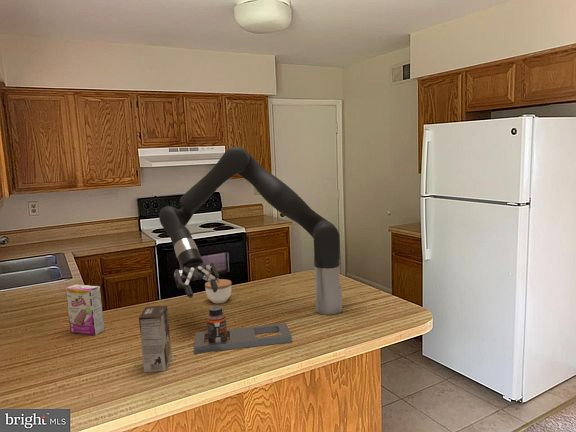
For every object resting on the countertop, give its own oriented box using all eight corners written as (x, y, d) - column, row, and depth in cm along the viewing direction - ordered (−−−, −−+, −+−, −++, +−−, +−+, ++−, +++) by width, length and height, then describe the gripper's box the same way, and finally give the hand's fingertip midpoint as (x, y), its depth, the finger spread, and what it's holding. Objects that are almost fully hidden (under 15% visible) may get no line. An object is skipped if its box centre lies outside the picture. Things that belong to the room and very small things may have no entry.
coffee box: (150, 358, 130) (145, 306, 128) (172, 356, 131) (167, 304, 129) (143, 372, 121) (137, 317, 119) (166, 370, 122) (161, 315, 120)
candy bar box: (69, 333, 152) (64, 288, 150) (80, 327, 157) (75, 283, 155) (95, 336, 149) (89, 289, 147) (105, 330, 153) (100, 285, 151)
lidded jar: (221, 306, 172) (219, 283, 171) (200, 303, 178) (199, 280, 177) (237, 298, 181) (236, 276, 180) (218, 295, 187) (216, 274, 186)
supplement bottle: (223, 346, 135) (220, 311, 134) (205, 345, 136) (202, 311, 135) (229, 338, 141) (227, 305, 139) (212, 337, 142) (210, 304, 141)
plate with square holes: (286, 328, 148) (285, 322, 147) (291, 342, 137) (291, 336, 136) (195, 338, 143) (195, 332, 143) (194, 353, 132) (193, 347, 132)
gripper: (169, 251, 144) (185, 292, 136) (209, 244, 152) (226, 283, 144) (165, 263, 149) (180, 304, 141) (204, 256, 157) (220, 295, 149)
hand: (203, 293), depth 143 cm, fingers open, 8 cm apart
